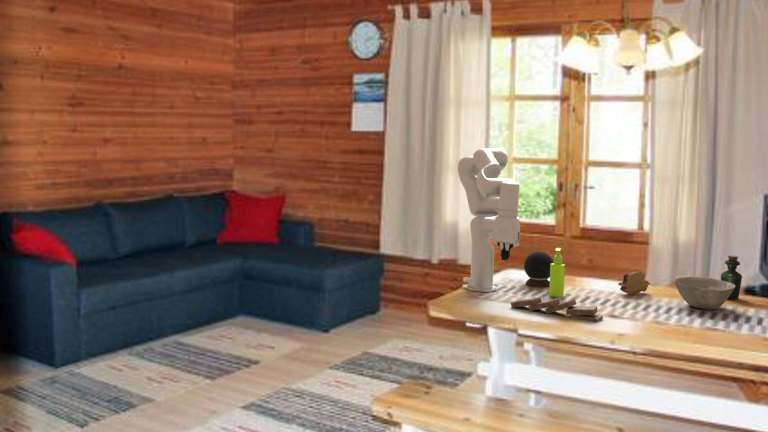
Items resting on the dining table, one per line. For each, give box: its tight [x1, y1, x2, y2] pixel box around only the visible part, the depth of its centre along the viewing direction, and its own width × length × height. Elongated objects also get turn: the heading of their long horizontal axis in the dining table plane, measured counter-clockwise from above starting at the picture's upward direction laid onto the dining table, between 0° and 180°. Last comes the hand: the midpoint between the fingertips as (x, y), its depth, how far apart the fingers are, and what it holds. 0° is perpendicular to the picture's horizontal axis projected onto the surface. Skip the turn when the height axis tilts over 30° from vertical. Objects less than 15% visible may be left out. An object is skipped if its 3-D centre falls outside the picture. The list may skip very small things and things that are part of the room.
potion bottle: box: [720, 254, 743, 301], centre depth 312 cm, size 8×8×18 cm
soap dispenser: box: [548, 247, 566, 298], centre depth 311 cm, size 6×7×20 cm
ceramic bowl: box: [673, 276, 735, 311], centre depth 296 cm, size 22×23×10 cm
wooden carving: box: [617, 270, 650, 296], centre depth 316 cm, size 16×5×10 cm, turn 123°
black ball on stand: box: [523, 250, 554, 289], centre depth 331 cm, size 13×13×15 cm
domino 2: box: [527, 298, 561, 312], centre depth 284 cm, size 2×6×10 cm
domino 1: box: [510, 296, 543, 309], centre depth 289 cm, size 2×6×10 cm
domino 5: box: [570, 313, 604, 323], centre depth 276 cm, size 2×6×10 cm
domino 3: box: [544, 298, 577, 315], centre depth 281 cm, size 2×6×10 cm
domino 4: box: [565, 305, 599, 316], centre depth 276 cm, size 2×6×10 cm
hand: (505, 259), depth 293 cm, fingers closed
